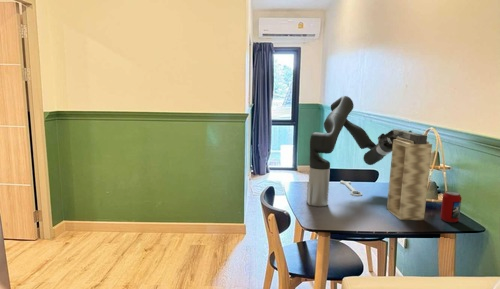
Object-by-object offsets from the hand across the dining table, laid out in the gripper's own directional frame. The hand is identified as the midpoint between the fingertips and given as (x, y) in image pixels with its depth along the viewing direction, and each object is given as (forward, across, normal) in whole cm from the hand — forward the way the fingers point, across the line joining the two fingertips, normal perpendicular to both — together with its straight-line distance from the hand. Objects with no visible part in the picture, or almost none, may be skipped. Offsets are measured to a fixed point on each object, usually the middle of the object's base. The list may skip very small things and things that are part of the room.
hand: (401, 132), depth 157 cm
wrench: (-44, -10, +15) cm, 48 cm away
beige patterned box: (-9, 0, +35) cm, 36 cm away
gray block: (+3, 0, +5) cm, 6 cm away
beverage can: (-4, +16, +38) cm, 42 cm away
